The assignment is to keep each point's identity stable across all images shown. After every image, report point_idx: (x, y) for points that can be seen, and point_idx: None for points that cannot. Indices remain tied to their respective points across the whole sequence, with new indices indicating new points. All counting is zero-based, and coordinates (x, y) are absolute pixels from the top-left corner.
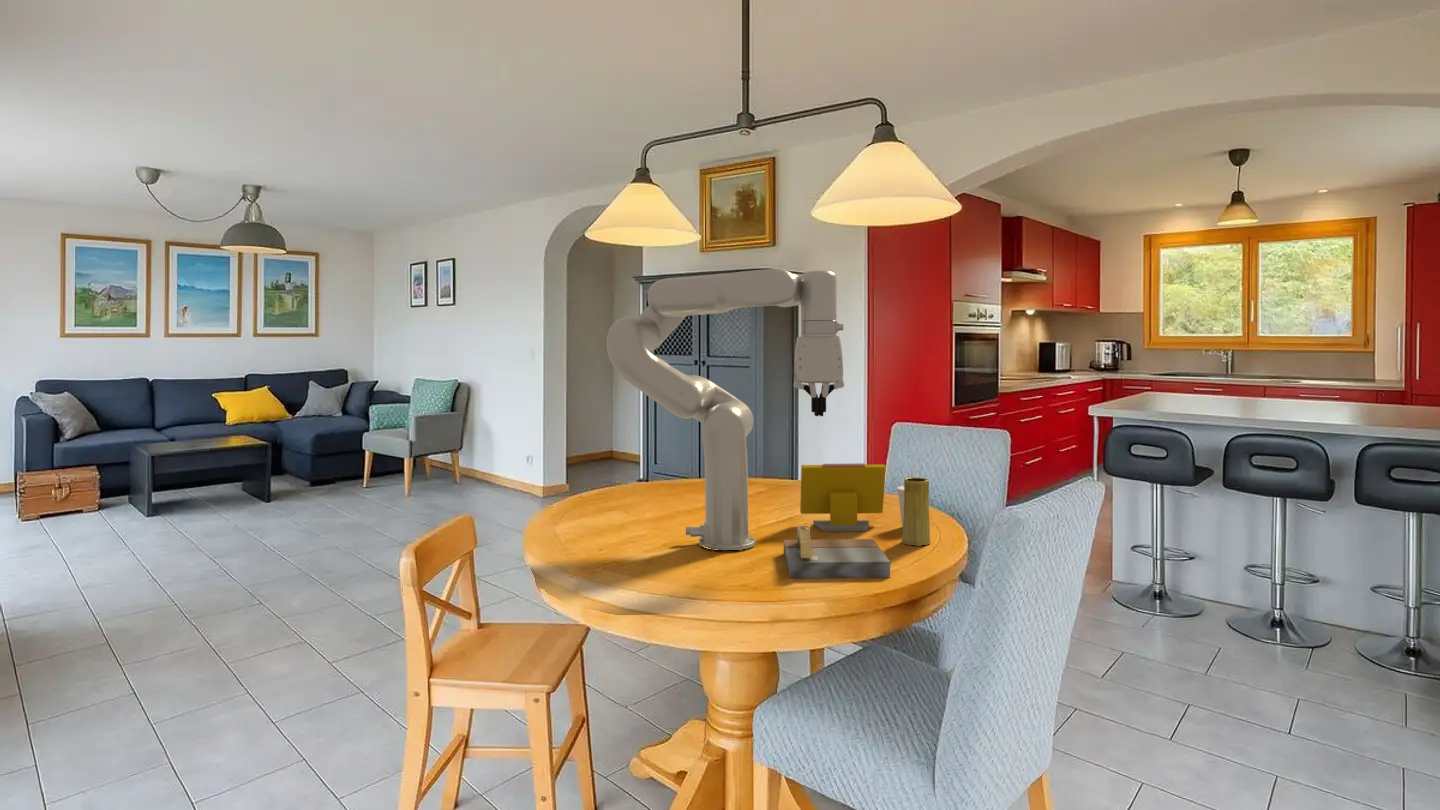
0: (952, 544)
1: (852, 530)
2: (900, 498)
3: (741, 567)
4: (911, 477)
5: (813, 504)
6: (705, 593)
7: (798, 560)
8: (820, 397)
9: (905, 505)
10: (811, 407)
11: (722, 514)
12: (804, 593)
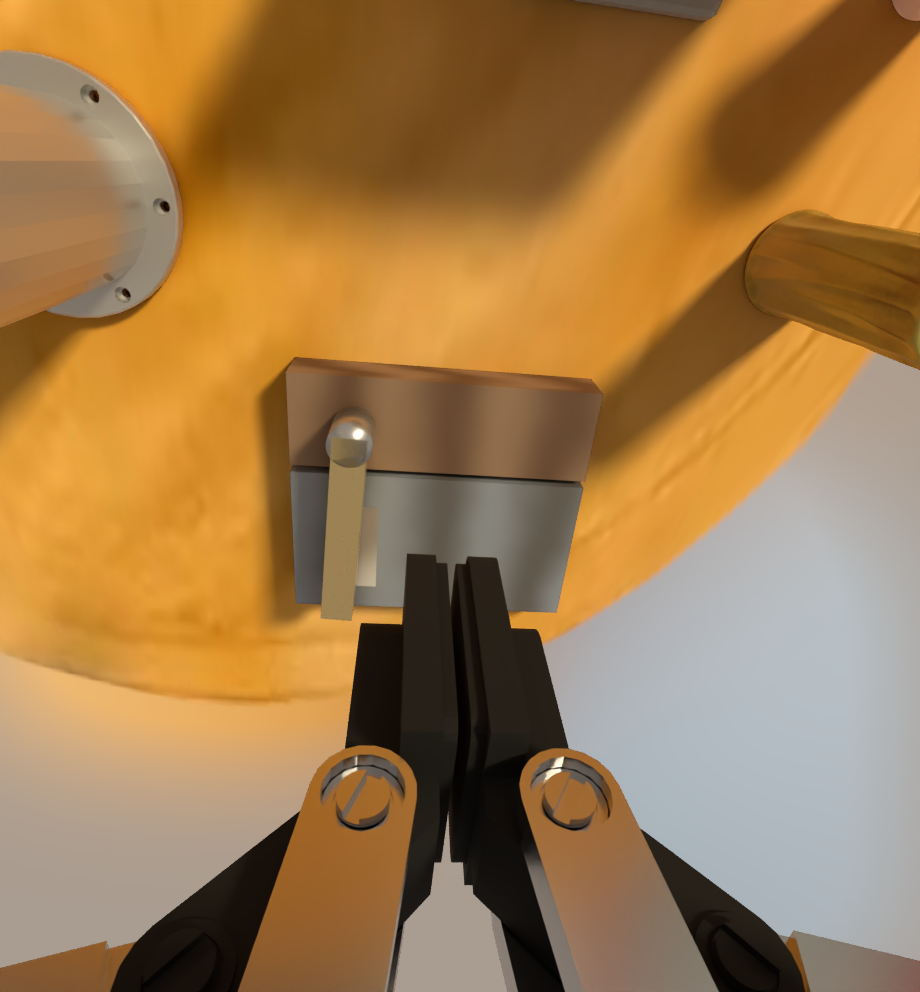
0: None
1: (641, 9)
2: None
3: (163, 483)
4: None
5: None
6: (103, 655)
7: (320, 588)
8: (469, 852)
9: (833, 301)
10: (357, 652)
11: None
12: (328, 666)
